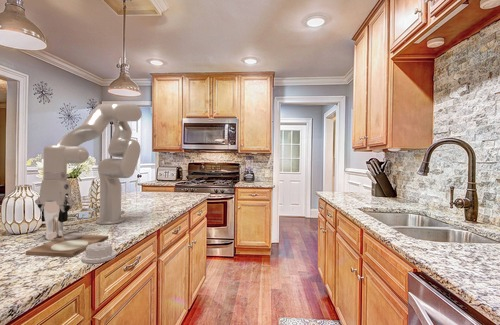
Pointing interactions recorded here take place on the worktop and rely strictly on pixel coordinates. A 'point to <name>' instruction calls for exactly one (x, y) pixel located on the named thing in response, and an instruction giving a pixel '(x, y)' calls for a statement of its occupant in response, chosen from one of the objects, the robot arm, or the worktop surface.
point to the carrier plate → (67, 245)
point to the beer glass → (53, 221)
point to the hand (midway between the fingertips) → (54, 220)
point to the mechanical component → (98, 253)
